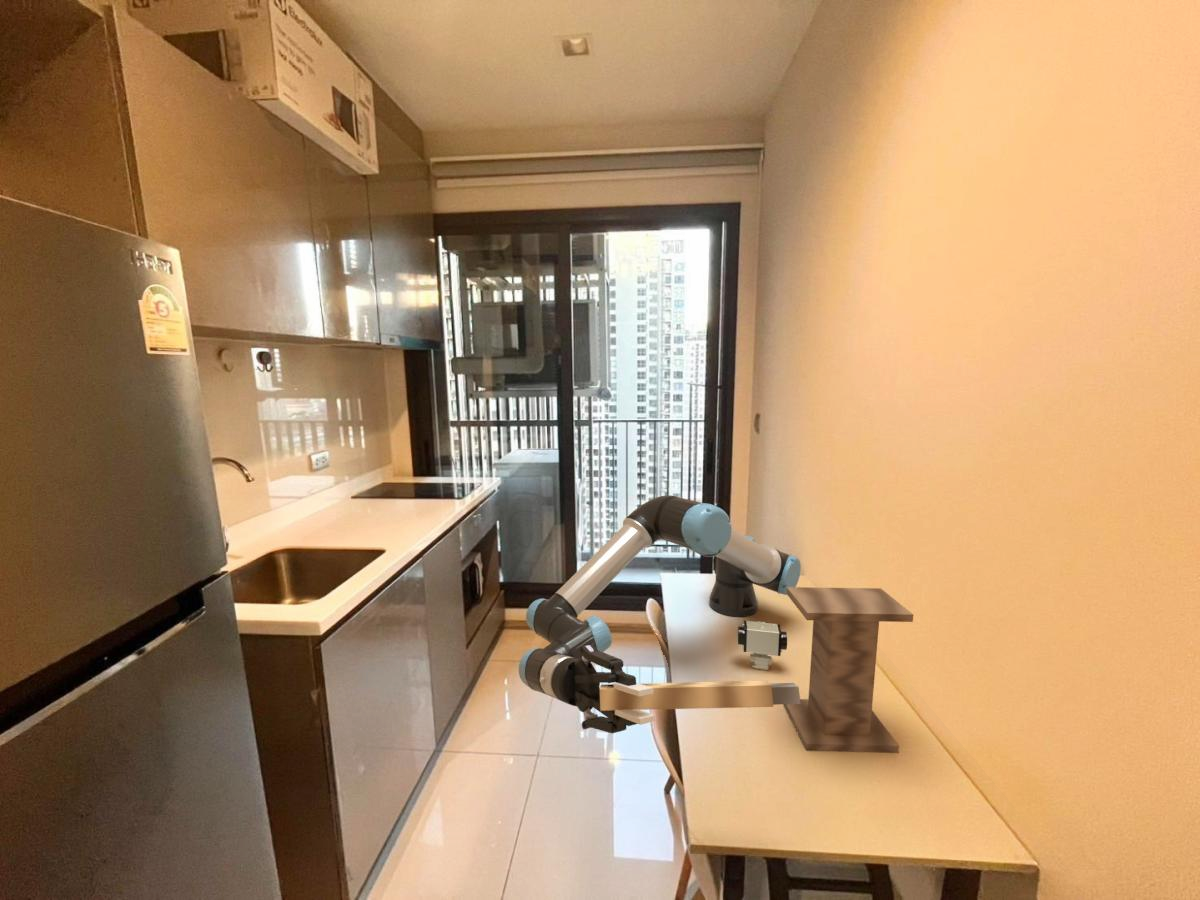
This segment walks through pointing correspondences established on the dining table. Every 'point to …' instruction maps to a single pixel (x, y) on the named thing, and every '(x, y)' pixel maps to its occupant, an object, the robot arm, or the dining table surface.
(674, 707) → the brown streaked block
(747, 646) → the pneumatic valve
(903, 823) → the dining table surface
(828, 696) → the shelf stand
